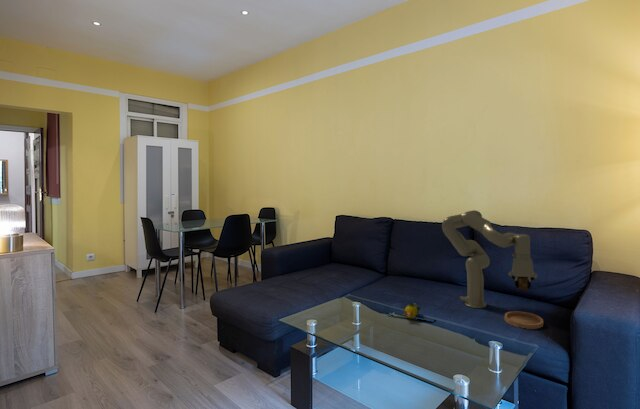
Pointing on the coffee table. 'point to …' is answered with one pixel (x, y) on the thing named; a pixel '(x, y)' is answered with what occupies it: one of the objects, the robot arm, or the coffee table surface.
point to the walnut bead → (523, 283)
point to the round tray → (523, 319)
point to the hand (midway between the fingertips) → (522, 287)
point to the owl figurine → (410, 311)
